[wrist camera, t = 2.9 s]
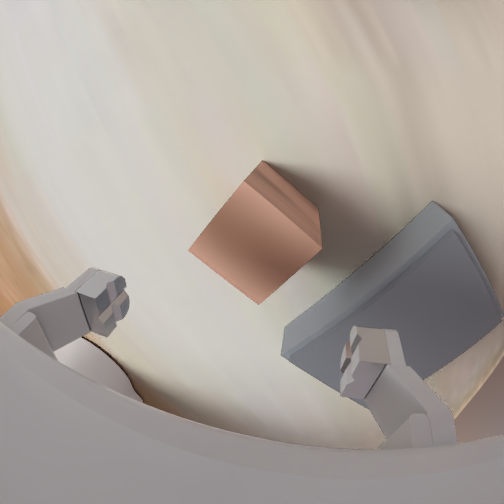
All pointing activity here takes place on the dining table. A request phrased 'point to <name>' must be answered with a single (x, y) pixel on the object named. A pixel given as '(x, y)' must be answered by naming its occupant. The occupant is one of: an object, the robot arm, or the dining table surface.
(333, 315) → the plinth
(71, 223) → the dining table surface
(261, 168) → the terracotta block
